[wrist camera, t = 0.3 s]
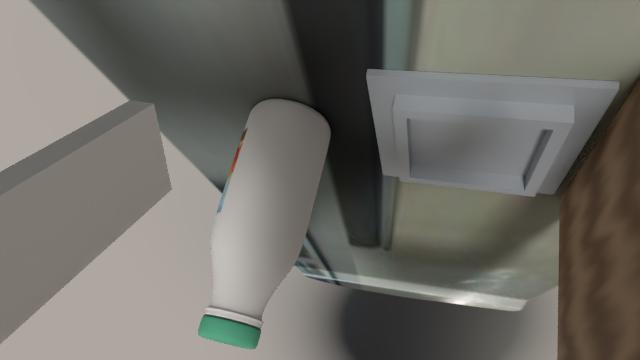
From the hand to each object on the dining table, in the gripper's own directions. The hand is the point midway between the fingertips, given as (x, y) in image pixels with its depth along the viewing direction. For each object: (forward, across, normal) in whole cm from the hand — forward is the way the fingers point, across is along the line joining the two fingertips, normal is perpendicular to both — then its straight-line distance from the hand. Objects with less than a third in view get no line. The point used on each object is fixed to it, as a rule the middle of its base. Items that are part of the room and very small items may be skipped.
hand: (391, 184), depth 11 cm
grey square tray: (+27, +3, -11) cm, 29 cm away
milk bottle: (+27, -13, -11) cm, 32 cm away
